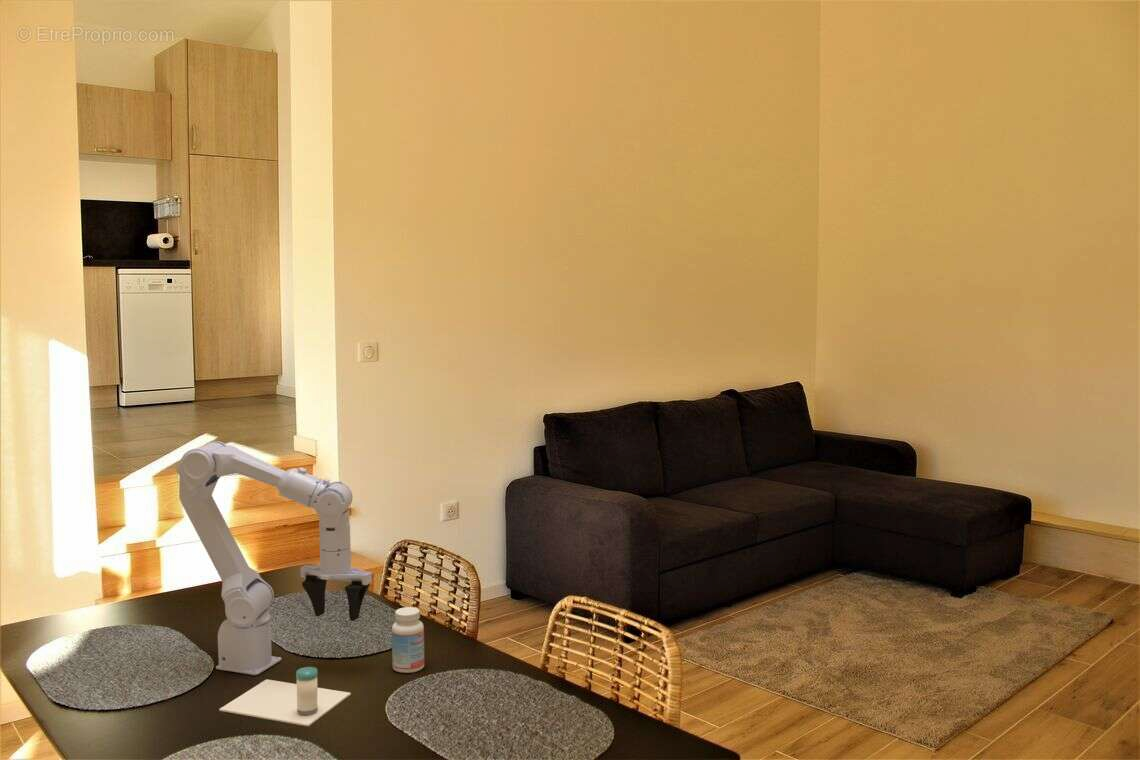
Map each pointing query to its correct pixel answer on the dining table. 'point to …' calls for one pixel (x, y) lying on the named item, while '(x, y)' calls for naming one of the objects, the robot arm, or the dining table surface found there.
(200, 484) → the robot arm
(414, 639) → the pill bottle
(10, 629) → the dining table surface
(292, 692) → the paper
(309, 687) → the green lidded jar
